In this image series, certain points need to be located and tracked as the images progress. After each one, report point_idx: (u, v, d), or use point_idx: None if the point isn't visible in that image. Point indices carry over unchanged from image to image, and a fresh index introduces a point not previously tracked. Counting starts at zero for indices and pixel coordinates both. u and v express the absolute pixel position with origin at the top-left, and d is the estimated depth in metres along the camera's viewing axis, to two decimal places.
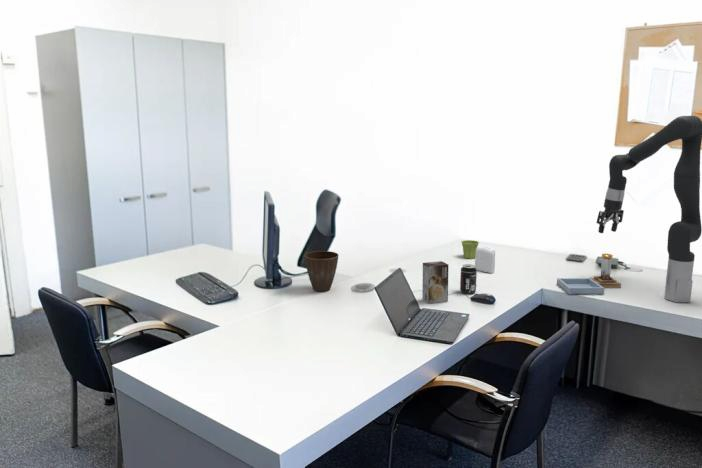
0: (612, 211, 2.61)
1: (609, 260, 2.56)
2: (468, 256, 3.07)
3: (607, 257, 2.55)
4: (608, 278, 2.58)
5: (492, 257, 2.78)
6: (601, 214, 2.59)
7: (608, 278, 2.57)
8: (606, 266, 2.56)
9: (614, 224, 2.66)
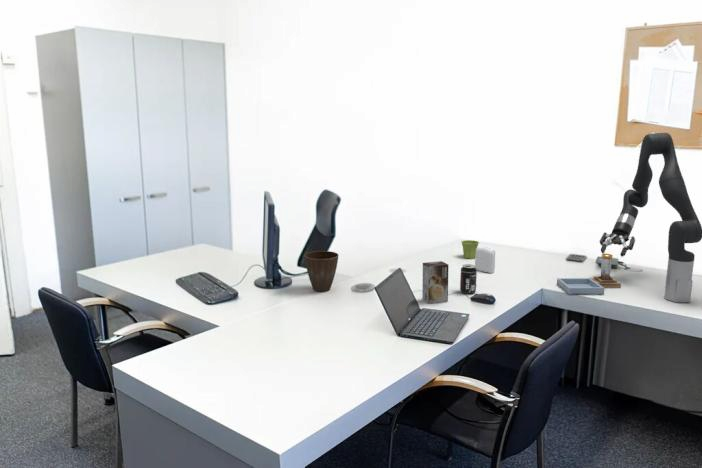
0: (617, 234, 2.64)
1: (609, 260, 2.56)
2: (468, 256, 3.07)
3: (607, 257, 2.55)
4: (608, 278, 2.58)
5: (492, 257, 2.78)
6: None
7: (608, 278, 2.57)
8: (606, 265, 2.56)
9: None
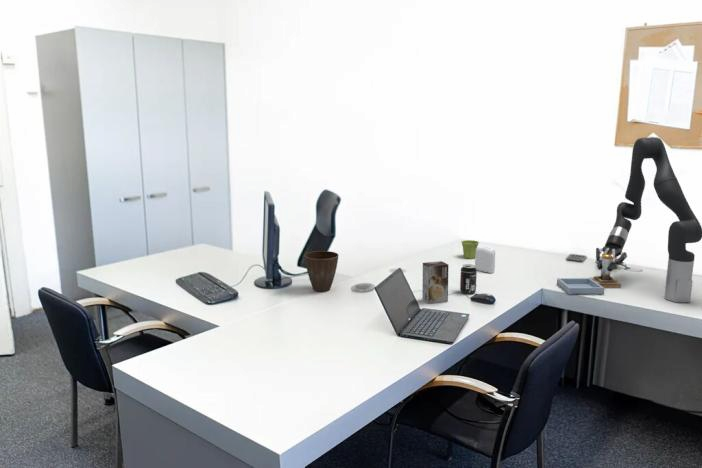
0: (610, 247, 2.61)
1: (609, 260, 2.56)
2: (468, 256, 3.07)
3: (607, 257, 2.55)
4: (608, 278, 2.58)
5: (492, 257, 2.78)
6: None
7: (608, 278, 2.57)
8: (606, 265, 2.56)
9: None
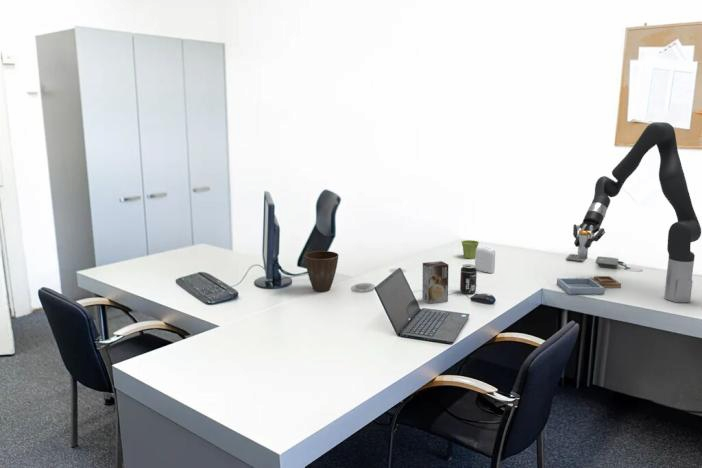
0: (588, 224, 2.52)
1: (586, 236, 2.46)
2: (468, 256, 3.07)
3: (584, 233, 2.46)
4: (585, 255, 2.48)
5: (492, 257, 2.78)
6: None
7: (585, 255, 2.48)
8: (583, 242, 2.47)
9: None
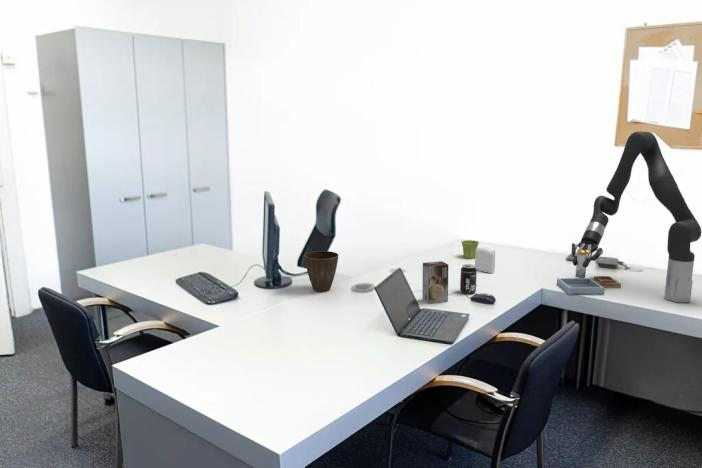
0: (586, 243, 2.53)
1: (584, 256, 2.48)
2: (468, 256, 3.07)
3: (582, 253, 2.48)
4: (583, 274, 2.50)
5: (492, 257, 2.78)
6: None
7: (583, 274, 2.50)
8: (582, 261, 2.49)
9: None
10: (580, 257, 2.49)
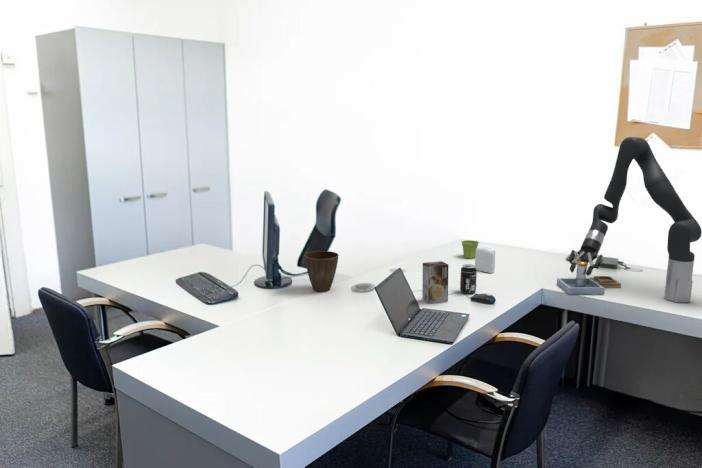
0: (585, 251, 2.54)
1: (584, 267, 2.49)
2: (468, 256, 3.07)
3: (582, 264, 2.49)
4: (583, 286, 2.51)
5: (492, 257, 2.78)
6: None
7: (583, 285, 2.51)
8: (581, 273, 2.50)
9: None
10: (580, 268, 2.50)
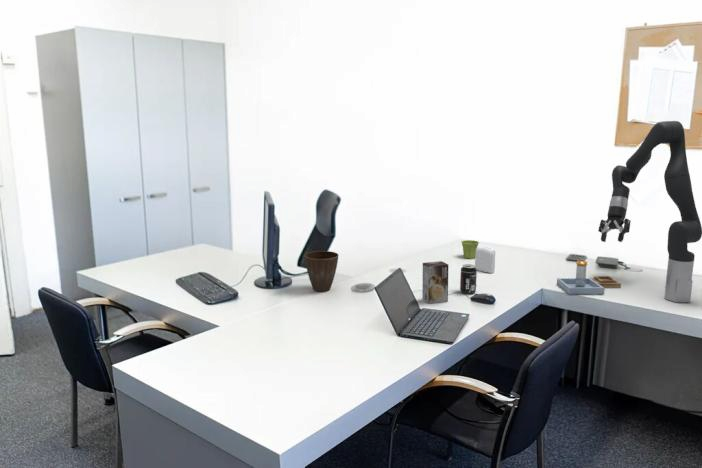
0: (612, 219, 2.63)
1: (584, 267, 2.49)
2: (468, 256, 3.07)
3: (581, 264, 2.49)
4: (583, 286, 2.51)
5: (492, 257, 2.78)
6: None
7: (583, 285, 2.51)
8: (581, 273, 2.50)
9: None
10: (579, 268, 2.50)
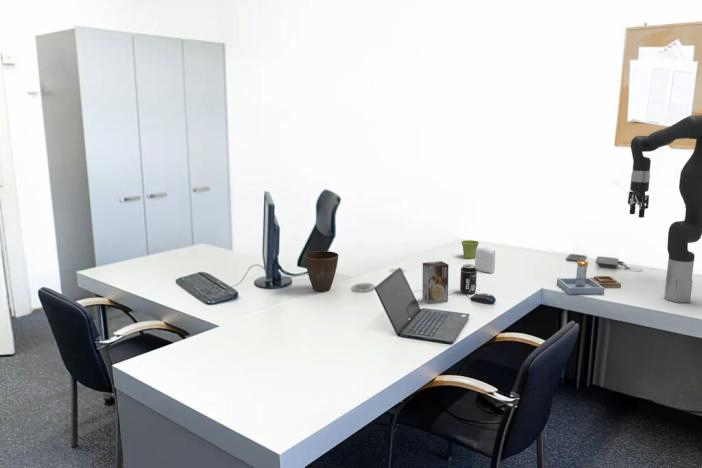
0: (635, 193, 2.61)
1: (584, 267, 2.49)
2: (468, 256, 3.07)
3: (582, 264, 2.49)
4: (583, 286, 2.51)
5: (492, 257, 2.78)
6: None
7: (583, 285, 2.51)
8: (581, 273, 2.50)
9: None
10: (580, 268, 2.50)
